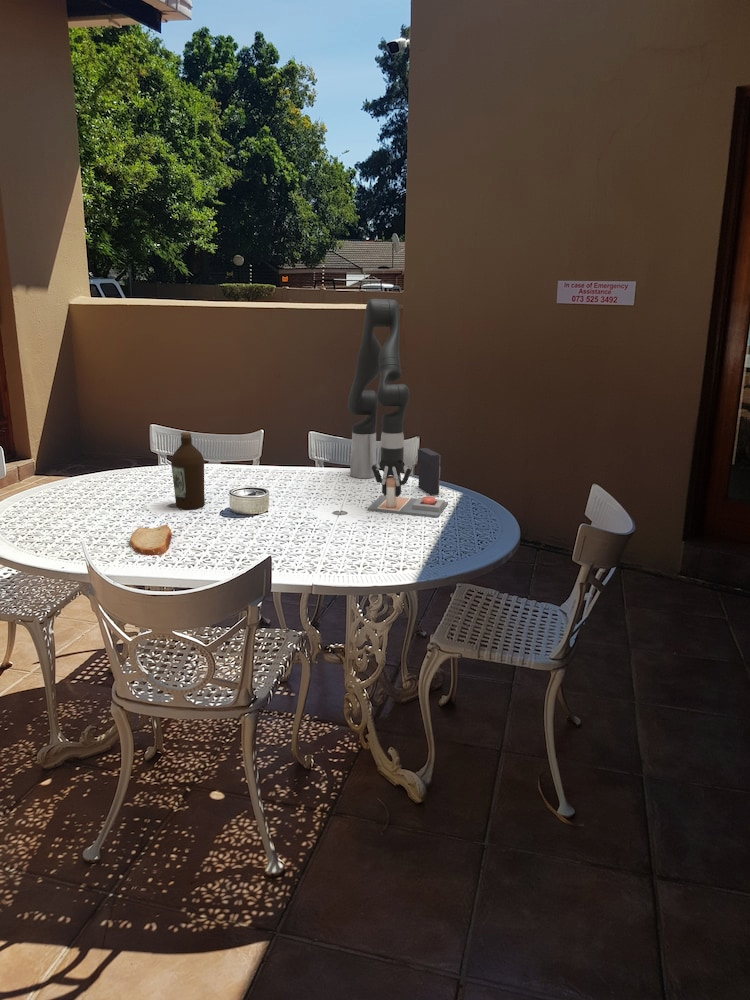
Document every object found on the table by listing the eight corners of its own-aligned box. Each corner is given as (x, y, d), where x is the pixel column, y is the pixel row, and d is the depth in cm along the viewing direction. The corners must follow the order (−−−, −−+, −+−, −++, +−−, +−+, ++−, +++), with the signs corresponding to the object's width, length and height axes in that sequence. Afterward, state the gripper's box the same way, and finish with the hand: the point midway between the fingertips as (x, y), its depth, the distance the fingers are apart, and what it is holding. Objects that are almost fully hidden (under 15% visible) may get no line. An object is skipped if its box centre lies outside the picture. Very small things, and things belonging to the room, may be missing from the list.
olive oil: (194, 499, 259) (190, 428, 252) (212, 505, 252) (208, 433, 245) (168, 505, 252) (162, 433, 244) (185, 512, 245) (180, 437, 237)
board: (367, 510, 249) (367, 503, 249) (381, 497, 264) (381, 490, 263) (437, 517, 243) (438, 510, 242) (448, 504, 257) (448, 497, 257)
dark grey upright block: (440, 494, 268) (442, 454, 263) (429, 496, 266) (431, 455, 262) (427, 486, 278) (428, 447, 273) (416, 488, 276) (417, 448, 272)
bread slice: (155, 559, 206) (154, 546, 205) (108, 547, 215) (107, 535, 213) (199, 539, 222) (198, 527, 220) (154, 529, 230) (153, 518, 229)
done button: (420, 505, 249) (420, 499, 249) (423, 501, 253) (424, 496, 253) (433, 506, 248) (433, 500, 248) (436, 502, 252) (436, 497, 252)
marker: (384, 506, 250) (385, 478, 247) (387, 503, 253) (388, 475, 250) (394, 508, 249) (395, 479, 246) (397, 505, 252) (398, 476, 249)
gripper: (416, 444, 246) (414, 494, 251) (375, 441, 250) (374, 490, 255) (410, 449, 239) (408, 500, 244) (368, 446, 243) (367, 496, 248)
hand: (391, 495), depth 250 cm, fingers closed on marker, 3 cm apart
